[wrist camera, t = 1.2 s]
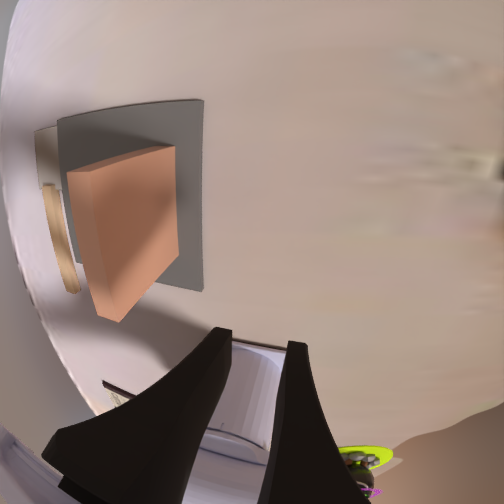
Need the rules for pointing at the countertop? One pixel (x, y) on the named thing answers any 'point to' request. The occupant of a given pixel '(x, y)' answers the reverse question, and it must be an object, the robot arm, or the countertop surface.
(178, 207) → the mat
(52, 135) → the turner
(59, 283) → the countertop surface
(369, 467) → the toy cauldron
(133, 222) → the tile
